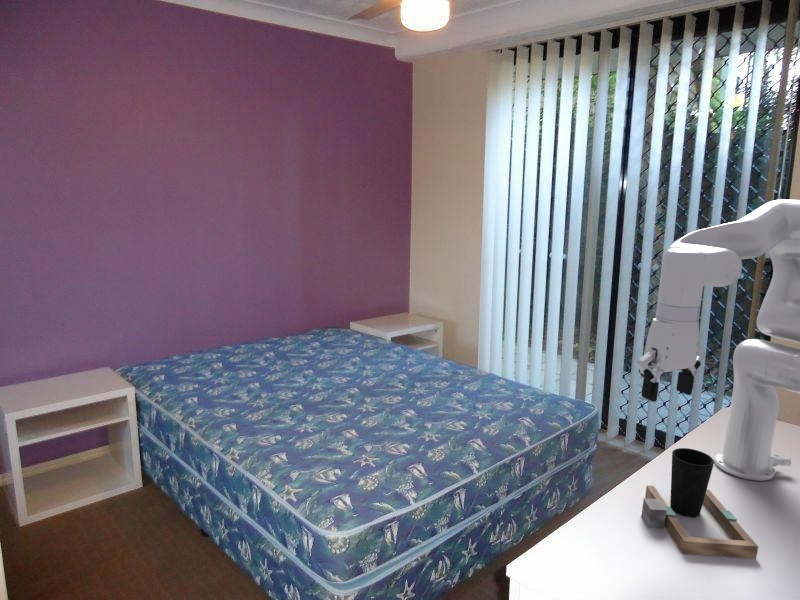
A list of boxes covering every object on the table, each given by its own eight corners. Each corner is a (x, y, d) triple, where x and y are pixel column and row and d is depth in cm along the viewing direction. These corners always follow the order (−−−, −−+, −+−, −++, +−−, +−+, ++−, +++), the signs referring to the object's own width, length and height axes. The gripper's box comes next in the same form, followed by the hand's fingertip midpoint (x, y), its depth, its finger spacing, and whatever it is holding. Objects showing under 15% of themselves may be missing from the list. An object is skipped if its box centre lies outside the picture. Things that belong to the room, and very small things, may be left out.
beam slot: (708, 500, 123) (710, 483, 122) (756, 558, 104) (760, 539, 103) (628, 494, 124) (630, 477, 123) (662, 552, 105) (665, 532, 104)
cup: (710, 523, 115) (719, 468, 112) (669, 517, 116) (677, 463, 114) (699, 502, 122) (707, 450, 119) (660, 497, 123) (668, 445, 121)
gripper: (691, 305, 118) (681, 384, 122) (629, 311, 111) (619, 395, 114) (725, 313, 111) (713, 396, 115) (661, 321, 104) (650, 409, 108)
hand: (666, 395), depth 115 cm, fingers open, 9 cm apart
